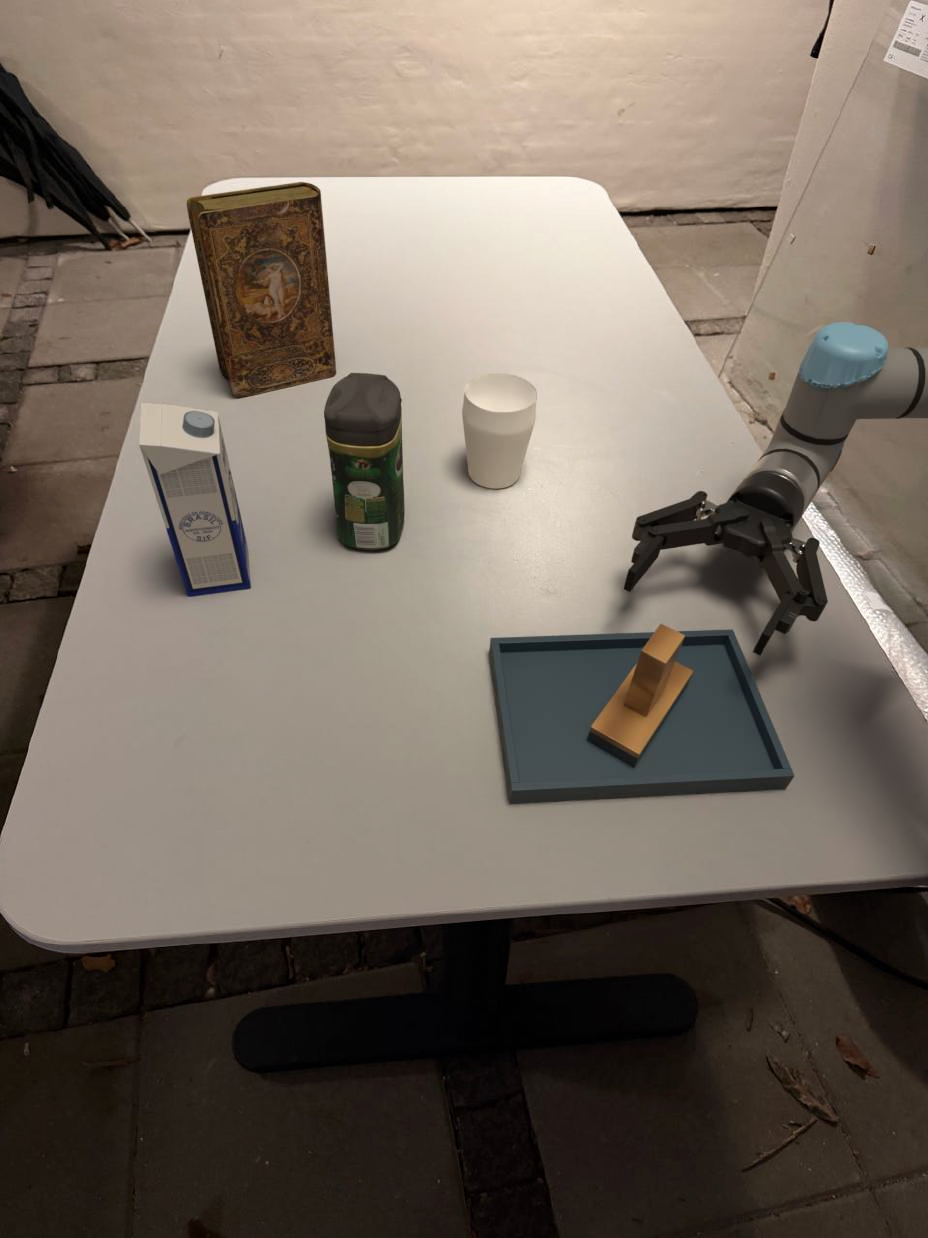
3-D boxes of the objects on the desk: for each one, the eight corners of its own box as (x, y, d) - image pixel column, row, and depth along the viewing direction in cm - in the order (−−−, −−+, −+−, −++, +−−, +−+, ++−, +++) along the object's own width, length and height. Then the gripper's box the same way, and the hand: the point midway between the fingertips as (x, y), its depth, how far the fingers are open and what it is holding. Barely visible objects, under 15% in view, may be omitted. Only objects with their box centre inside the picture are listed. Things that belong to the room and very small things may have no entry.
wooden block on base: (688, 684, 78) (717, 615, 70) (634, 768, 71) (659, 701, 63) (643, 661, 79) (666, 591, 72) (586, 740, 73) (606, 672, 65)
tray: (786, 789, 71) (795, 775, 69) (509, 804, 69) (511, 790, 67) (726, 643, 83) (733, 629, 81) (489, 652, 81) (490, 637, 79)
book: (327, 357, 119) (310, 180, 101) (341, 374, 116) (326, 194, 97) (222, 381, 113) (183, 197, 95) (233, 399, 110) (196, 213, 92)
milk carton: (187, 554, 88) (140, 399, 74) (247, 546, 90) (213, 393, 75) (187, 597, 84) (137, 442, 69) (251, 589, 85) (215, 435, 70)
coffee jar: (345, 499, 96) (332, 362, 83) (408, 503, 96) (406, 367, 82) (330, 551, 90) (314, 412, 76) (398, 556, 90) (394, 418, 76)
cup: (538, 465, 103) (549, 383, 94) (512, 503, 97) (521, 421, 88) (476, 446, 105) (481, 365, 96) (447, 482, 99) (450, 400, 91)
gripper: (868, 572, 84) (806, 698, 72) (660, 484, 93) (573, 583, 81) (900, 519, 79) (838, 646, 67) (675, 431, 88) (584, 529, 76)
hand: (692, 612), depth 74 cm, fingers open, 13 cm apart
